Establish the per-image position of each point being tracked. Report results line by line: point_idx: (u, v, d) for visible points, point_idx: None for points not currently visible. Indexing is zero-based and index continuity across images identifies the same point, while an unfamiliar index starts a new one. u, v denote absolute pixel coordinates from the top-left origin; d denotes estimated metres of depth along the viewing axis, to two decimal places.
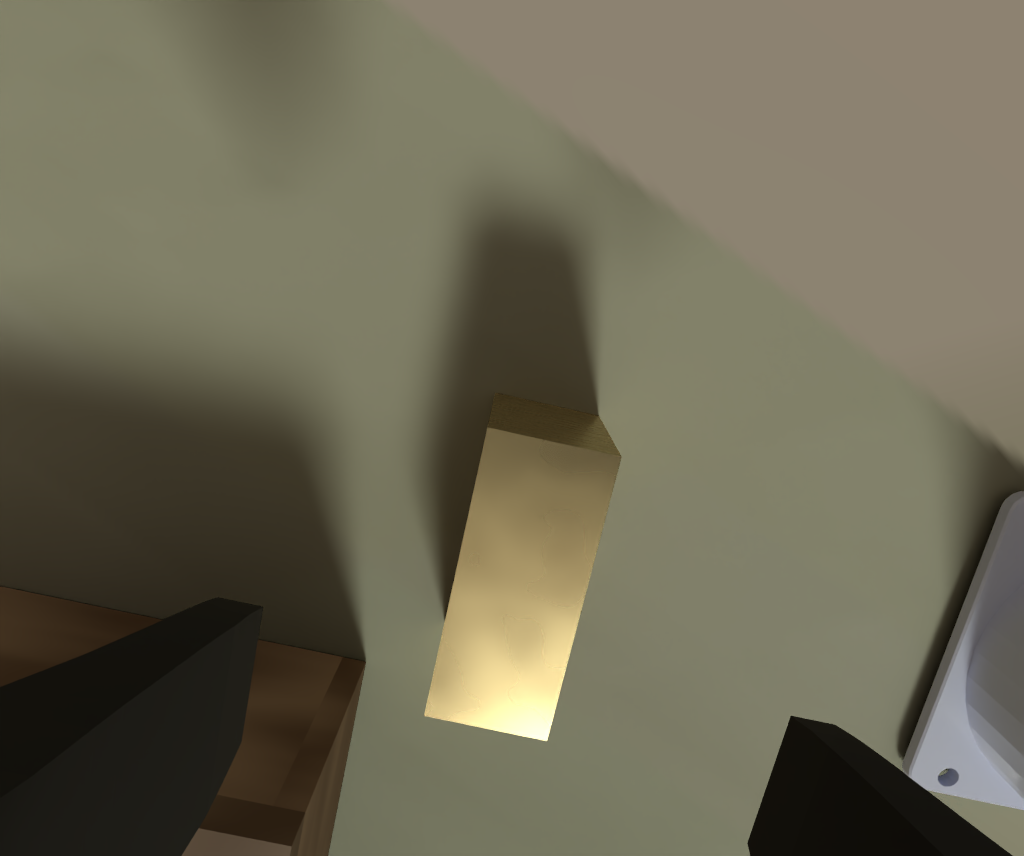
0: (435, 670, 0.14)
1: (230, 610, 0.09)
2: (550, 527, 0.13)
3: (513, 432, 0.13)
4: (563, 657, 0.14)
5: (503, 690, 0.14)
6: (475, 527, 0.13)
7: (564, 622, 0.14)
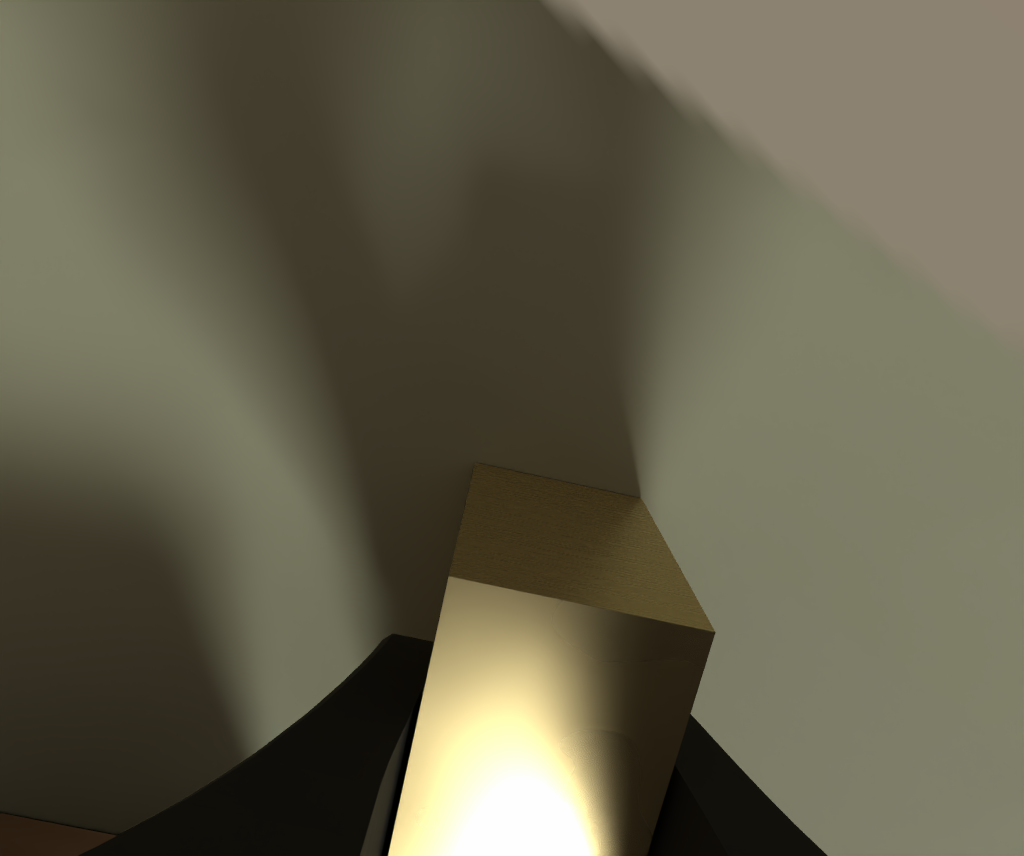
0: None
1: (415, 648, 0.09)
2: (572, 762, 0.07)
3: (499, 582, 0.07)
4: None
5: None
6: (427, 762, 0.07)
7: None
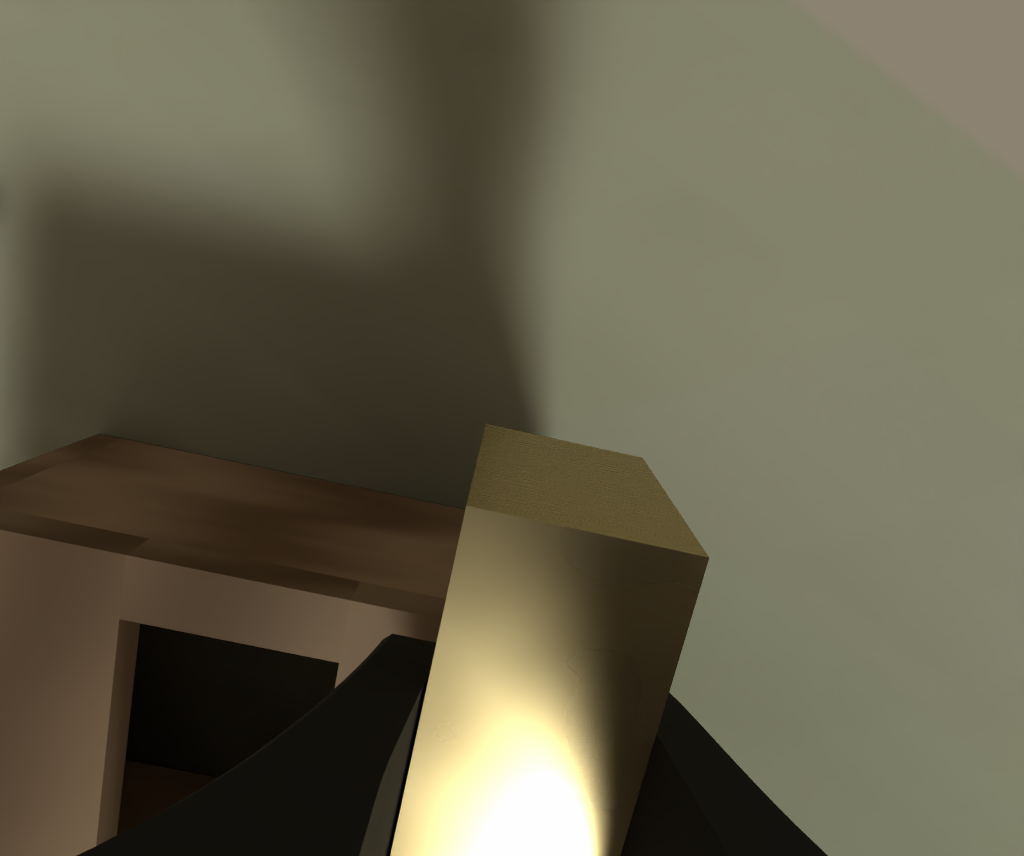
0: None
1: (415, 648, 0.09)
2: (579, 678, 0.07)
3: (512, 513, 0.07)
4: None
5: None
6: (446, 678, 0.07)
7: (602, 836, 0.08)
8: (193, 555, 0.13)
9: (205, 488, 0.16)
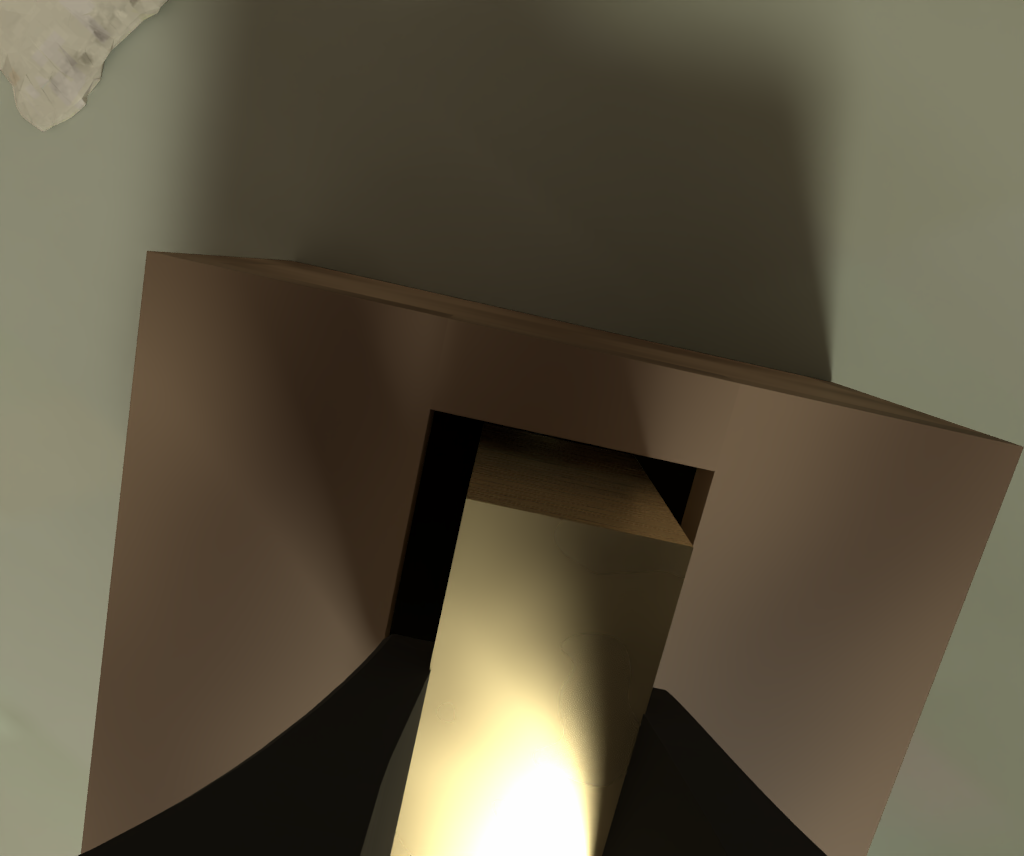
0: None
1: (416, 648, 0.09)
2: (571, 661, 0.08)
3: (509, 506, 0.08)
4: None
5: None
6: (446, 662, 0.08)
7: (594, 810, 0.08)
8: (520, 331, 0.10)
9: (453, 303, 0.13)
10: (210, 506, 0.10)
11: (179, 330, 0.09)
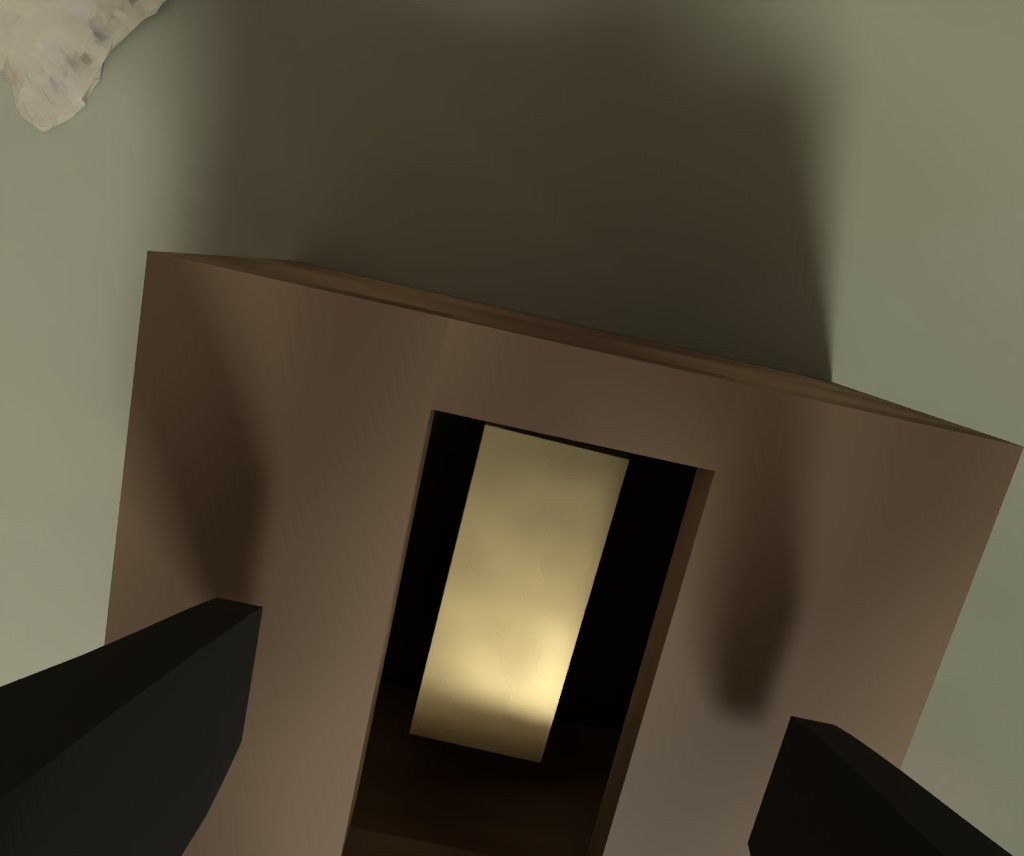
0: (422, 685, 0.13)
1: (230, 610, 0.09)
2: (550, 534, 0.12)
3: (513, 430, 0.12)
4: (560, 674, 0.13)
5: (495, 708, 0.13)
6: (469, 532, 0.12)
7: (562, 636, 0.13)
8: (520, 331, 0.10)
9: (454, 303, 0.13)
10: (211, 506, 0.10)
11: (180, 330, 0.09)
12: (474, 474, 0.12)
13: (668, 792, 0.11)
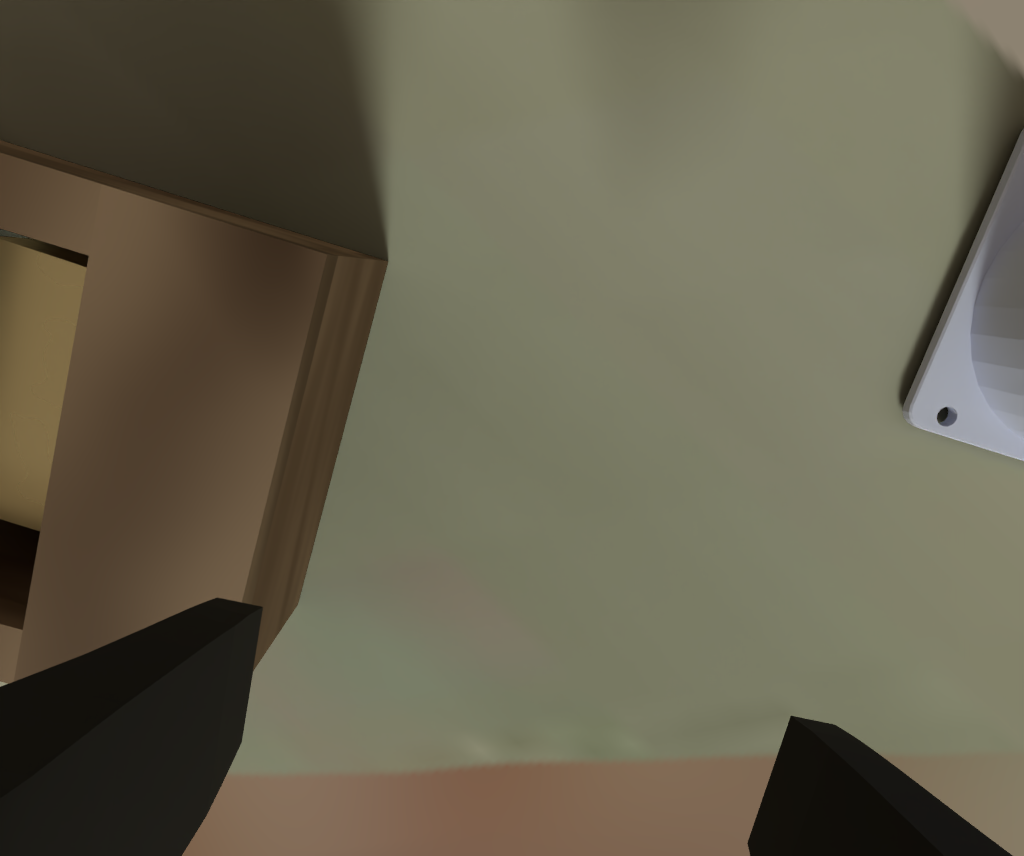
0: None
1: (230, 610, 0.09)
2: (50, 335, 0.15)
3: (14, 243, 0.15)
4: None
5: (13, 484, 0.16)
6: None
7: None
8: None
9: (9, 146, 0.16)
10: None
11: None
12: None
13: (79, 528, 0.14)
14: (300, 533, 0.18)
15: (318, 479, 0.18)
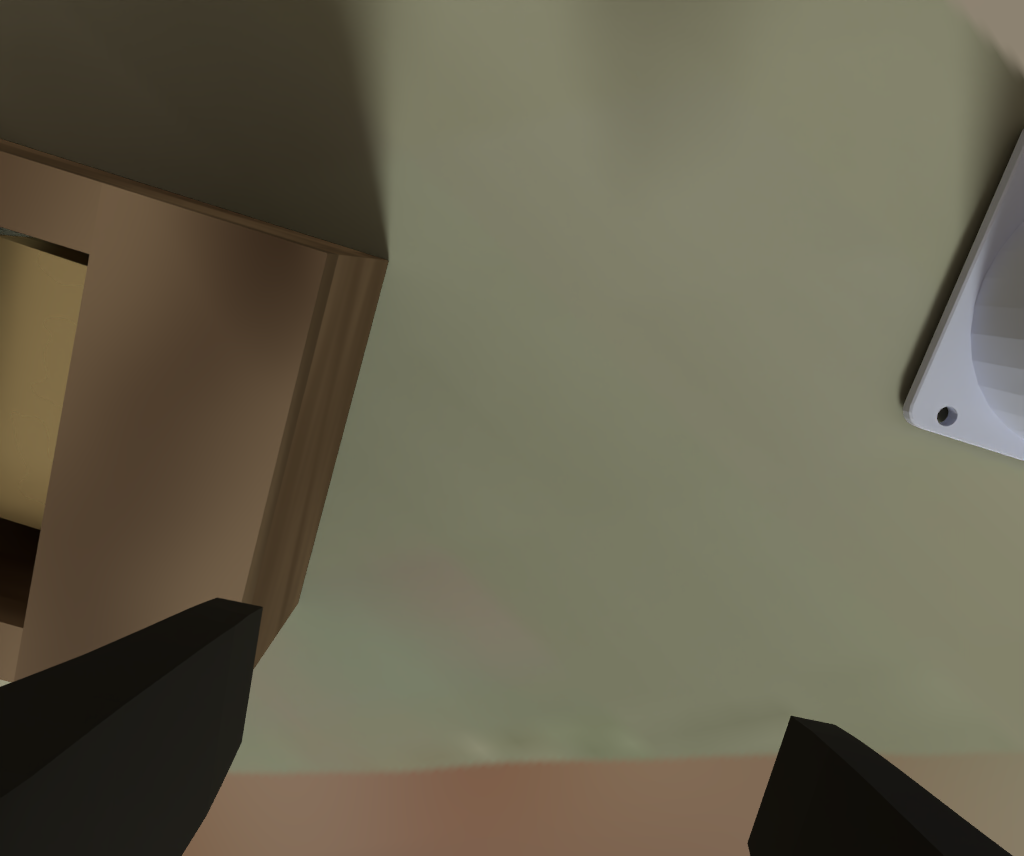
0: None
1: (230, 610, 0.09)
2: (50, 333, 0.15)
3: (15, 241, 0.15)
4: None
5: (14, 482, 0.16)
6: None
7: None
8: None
9: (10, 145, 0.16)
10: None
11: None
12: None
13: (80, 526, 0.14)
14: (300, 532, 0.18)
15: (318, 478, 0.18)
